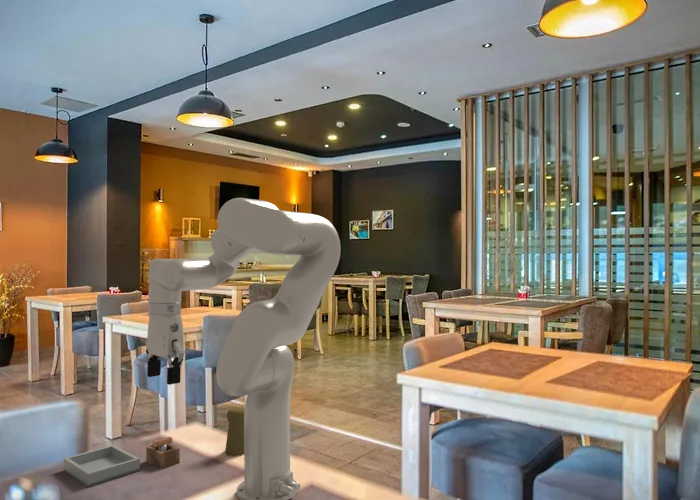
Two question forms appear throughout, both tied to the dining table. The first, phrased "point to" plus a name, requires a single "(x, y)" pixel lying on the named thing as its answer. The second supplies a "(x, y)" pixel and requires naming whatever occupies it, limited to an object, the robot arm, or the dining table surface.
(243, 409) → the cork
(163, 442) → the brown grey t-shaped piece
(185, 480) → the dining table surface
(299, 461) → the dining table surface
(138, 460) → the tray
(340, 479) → the dining table surface
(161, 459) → the collar
